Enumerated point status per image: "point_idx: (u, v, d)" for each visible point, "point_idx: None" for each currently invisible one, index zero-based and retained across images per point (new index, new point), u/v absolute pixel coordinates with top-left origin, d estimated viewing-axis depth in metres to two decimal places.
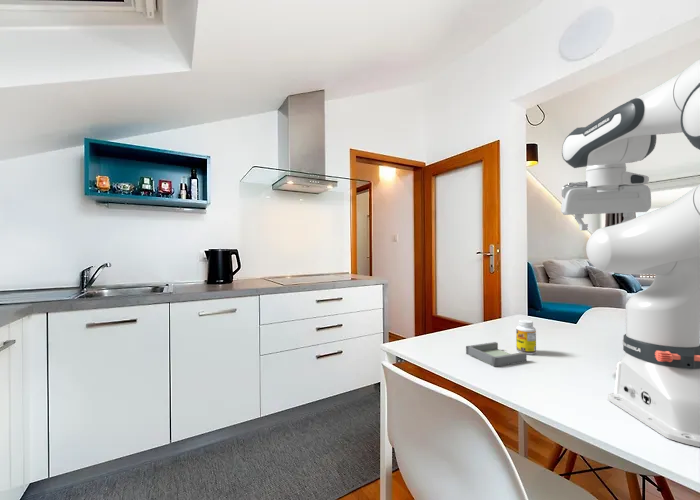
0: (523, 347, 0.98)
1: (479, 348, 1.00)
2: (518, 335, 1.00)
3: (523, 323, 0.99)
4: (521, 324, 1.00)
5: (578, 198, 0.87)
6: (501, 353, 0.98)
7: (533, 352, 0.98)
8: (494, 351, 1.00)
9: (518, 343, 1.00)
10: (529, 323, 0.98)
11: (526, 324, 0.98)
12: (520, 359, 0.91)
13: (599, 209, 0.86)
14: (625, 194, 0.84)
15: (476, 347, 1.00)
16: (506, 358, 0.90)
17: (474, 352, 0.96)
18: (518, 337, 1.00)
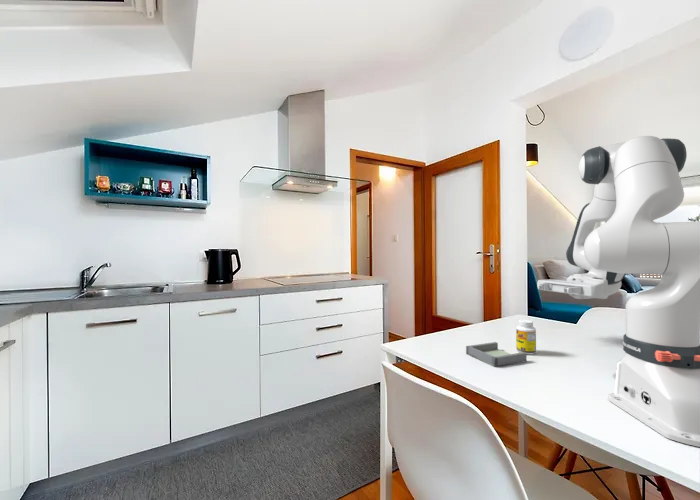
0: (523, 347, 0.98)
1: (479, 348, 1.00)
2: (518, 335, 1.00)
3: (523, 323, 0.99)
4: (521, 324, 1.00)
5: (553, 280, 1.14)
6: (501, 353, 0.98)
7: (533, 352, 0.98)
8: (494, 351, 1.00)
9: (518, 343, 1.00)
10: (529, 323, 0.98)
11: (526, 324, 0.98)
12: (520, 359, 0.91)
13: (559, 281, 1.08)
14: (585, 283, 1.03)
15: (476, 347, 1.00)
16: (506, 358, 0.90)
17: (474, 352, 0.96)
18: (518, 337, 1.00)
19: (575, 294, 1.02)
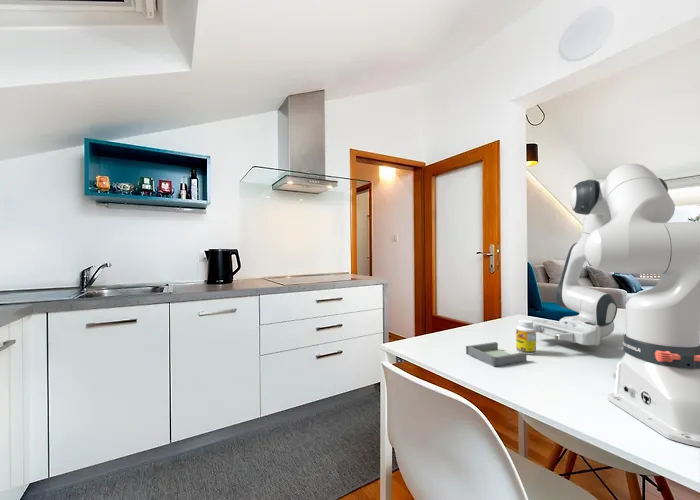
0: (523, 347, 0.98)
1: (479, 348, 1.00)
2: (518, 335, 1.00)
3: (523, 323, 0.99)
4: (521, 324, 1.00)
5: (545, 322, 1.12)
6: (501, 353, 0.98)
7: (533, 352, 0.98)
8: (494, 351, 1.00)
9: (518, 343, 1.00)
10: (529, 323, 0.98)
11: (526, 324, 0.98)
12: (520, 359, 0.91)
13: (551, 325, 1.06)
14: (577, 329, 1.02)
15: (476, 347, 1.00)
16: (506, 358, 0.90)
17: (474, 352, 0.96)
18: (518, 337, 1.00)
19: (567, 340, 1.00)
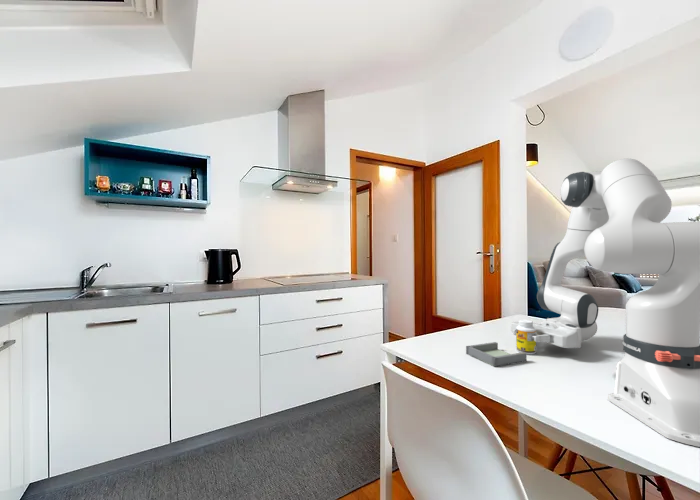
0: (523, 347, 0.98)
1: (479, 348, 1.00)
2: (518, 335, 1.00)
3: (523, 323, 0.99)
4: (521, 324, 1.00)
5: None
6: (501, 353, 0.98)
7: (533, 352, 0.98)
8: (494, 351, 1.00)
9: (518, 343, 1.00)
10: (529, 323, 0.98)
11: (526, 324, 0.98)
12: (520, 359, 0.91)
13: None
14: (557, 331, 0.99)
15: (476, 347, 1.00)
16: (506, 358, 0.90)
17: (474, 352, 0.96)
18: (518, 337, 1.00)
19: (547, 342, 0.98)
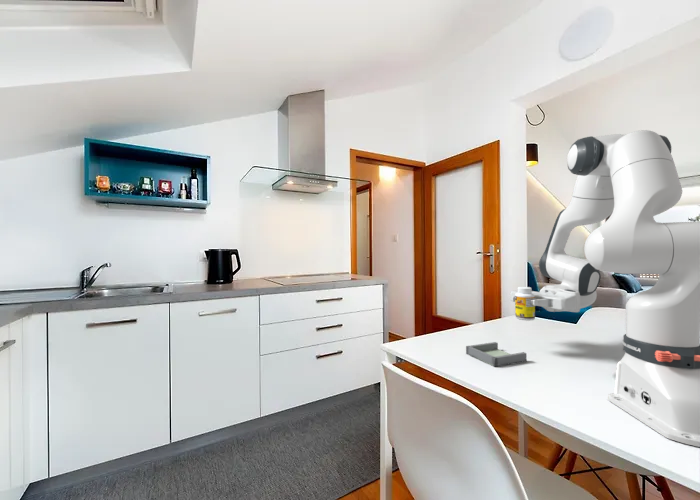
0: (522, 313, 0.98)
1: (479, 348, 1.00)
2: (517, 301, 1.00)
3: (522, 289, 0.99)
4: (520, 290, 0.99)
5: None
6: (501, 353, 0.98)
7: (532, 318, 0.97)
8: (494, 351, 1.00)
9: (517, 310, 1.00)
10: (528, 289, 0.98)
11: (525, 290, 0.98)
12: (520, 359, 0.91)
13: None
14: (556, 296, 0.99)
15: (476, 347, 1.00)
16: (506, 358, 0.90)
17: (474, 352, 0.96)
18: (517, 303, 1.00)
19: (546, 307, 0.97)
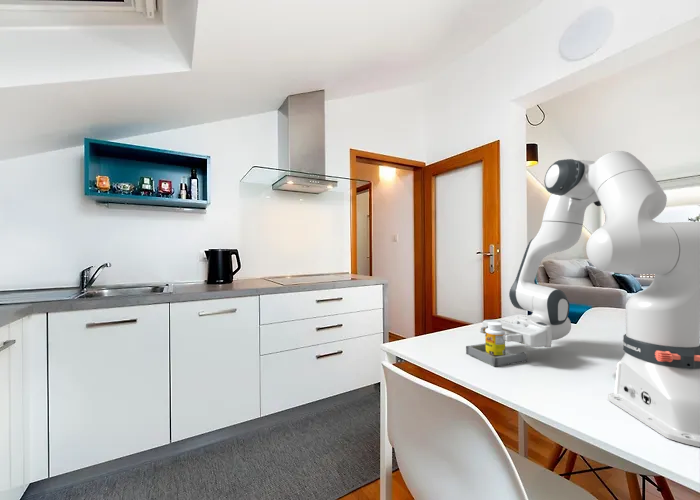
0: (491, 350, 0.94)
1: (479, 348, 1.00)
2: (487, 338, 0.95)
3: (491, 326, 0.95)
4: (489, 327, 0.95)
5: (498, 321, 1.05)
6: None
7: None
8: None
9: (487, 346, 0.96)
10: (497, 326, 0.94)
11: (494, 327, 0.94)
12: (520, 359, 0.91)
13: (502, 325, 0.99)
14: (527, 329, 0.95)
15: (476, 347, 1.00)
16: (506, 358, 0.90)
17: (474, 352, 0.96)
18: (487, 340, 0.95)
19: None
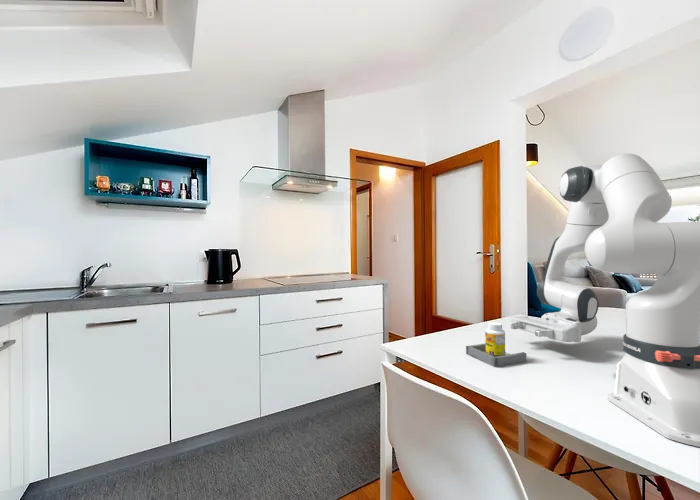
0: (491, 350, 0.94)
1: (479, 348, 1.00)
2: (487, 338, 0.95)
3: (492, 326, 0.95)
4: (490, 327, 0.95)
5: (527, 318, 1.09)
6: None
7: None
8: None
9: (487, 346, 0.95)
10: (498, 326, 0.94)
11: (495, 327, 0.94)
12: (520, 359, 0.91)
13: (532, 321, 1.03)
14: (557, 325, 0.99)
15: (476, 347, 1.00)
16: (506, 358, 0.90)
17: (474, 352, 0.96)
18: (487, 340, 0.95)
19: None
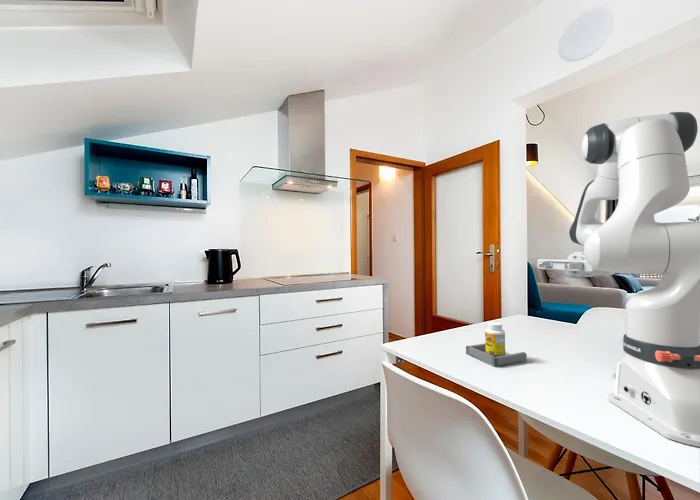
0: (491, 350, 0.94)
1: (479, 348, 1.00)
2: (487, 338, 0.95)
3: (491, 326, 0.95)
4: (490, 327, 0.95)
5: None
6: None
7: None
8: None
9: (487, 346, 0.96)
10: (498, 325, 0.94)
11: (494, 327, 0.94)
12: (520, 359, 0.91)
13: (560, 259, 1.06)
14: None
15: (476, 347, 1.00)
16: (506, 358, 0.90)
17: (474, 352, 0.96)
18: (487, 340, 0.95)
19: (576, 271, 1.00)
